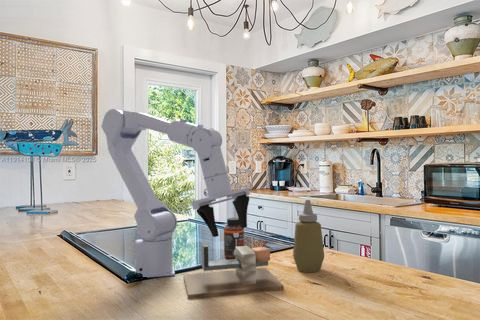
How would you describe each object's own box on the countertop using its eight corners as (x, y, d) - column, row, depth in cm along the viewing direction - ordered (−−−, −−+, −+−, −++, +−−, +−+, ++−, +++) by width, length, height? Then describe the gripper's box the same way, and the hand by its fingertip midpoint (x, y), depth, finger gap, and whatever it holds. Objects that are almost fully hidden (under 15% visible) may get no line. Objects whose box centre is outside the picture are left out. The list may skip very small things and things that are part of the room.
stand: (188, 298, 78) (187, 262, 78) (183, 277, 91) (182, 247, 91) (283, 289, 82) (283, 255, 82) (265, 270, 96) (265, 241, 96)
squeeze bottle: (327, 267, 98) (326, 198, 98) (320, 276, 91) (319, 202, 91) (298, 263, 102) (296, 198, 102) (289, 272, 94) (287, 201, 94)
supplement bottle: (242, 259, 107) (241, 220, 107) (222, 258, 108) (221, 219, 108) (246, 254, 113) (245, 217, 113) (226, 253, 114) (226, 216, 114)
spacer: (254, 262, 86) (253, 252, 86) (249, 257, 90) (249, 247, 90) (272, 261, 87) (272, 251, 87) (267, 256, 91) (266, 246, 91)
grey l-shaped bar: (204, 271, 83) (203, 246, 83) (201, 265, 88) (201, 242, 88) (268, 266, 86) (268, 242, 86) (262, 260, 91) (262, 238, 91)
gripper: (193, 180, 83) (208, 240, 82) (249, 167, 89) (264, 222, 88) (184, 184, 89) (198, 240, 88) (237, 172, 96) (250, 224, 94)
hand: (230, 231), depth 88 cm, fingers open, 7 cm apart
